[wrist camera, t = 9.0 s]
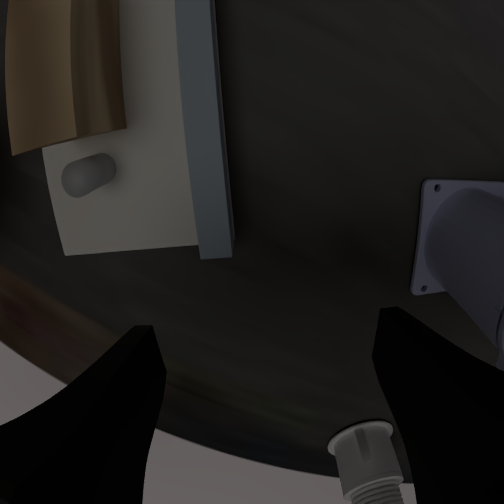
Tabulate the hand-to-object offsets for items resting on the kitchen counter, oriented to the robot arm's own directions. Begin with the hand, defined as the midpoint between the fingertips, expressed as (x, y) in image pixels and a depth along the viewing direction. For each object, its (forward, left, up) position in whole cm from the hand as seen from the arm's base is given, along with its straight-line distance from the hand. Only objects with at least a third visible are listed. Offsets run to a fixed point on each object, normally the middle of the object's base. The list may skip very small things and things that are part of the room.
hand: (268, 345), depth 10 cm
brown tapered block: (+8, -11, -9) cm, 16 cm away
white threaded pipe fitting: (-9, +23, -10) cm, 27 cm away
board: (+7, -9, -10) cm, 15 cm away
